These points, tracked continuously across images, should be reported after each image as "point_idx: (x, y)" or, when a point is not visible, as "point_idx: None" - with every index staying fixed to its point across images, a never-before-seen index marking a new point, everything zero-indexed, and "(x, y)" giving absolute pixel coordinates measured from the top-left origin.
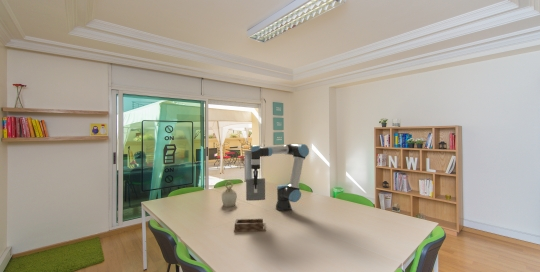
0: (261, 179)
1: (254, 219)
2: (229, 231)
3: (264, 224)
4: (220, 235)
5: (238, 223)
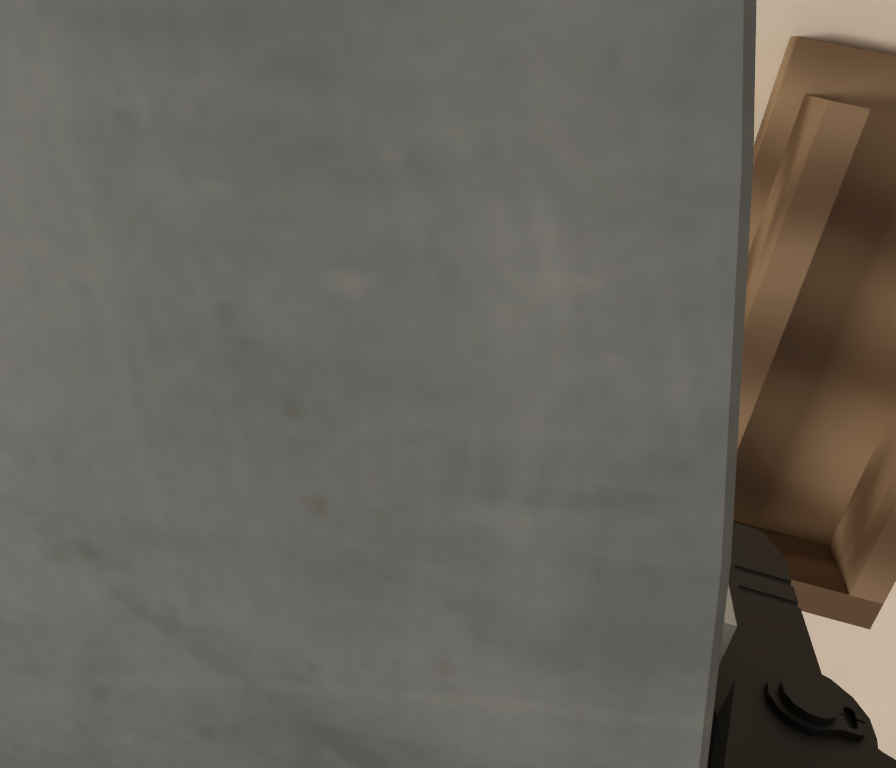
0: (709, 452)
1: (801, 284)
2: (810, 616)
3: (871, 73)
4: (889, 724)
5: (872, 574)
